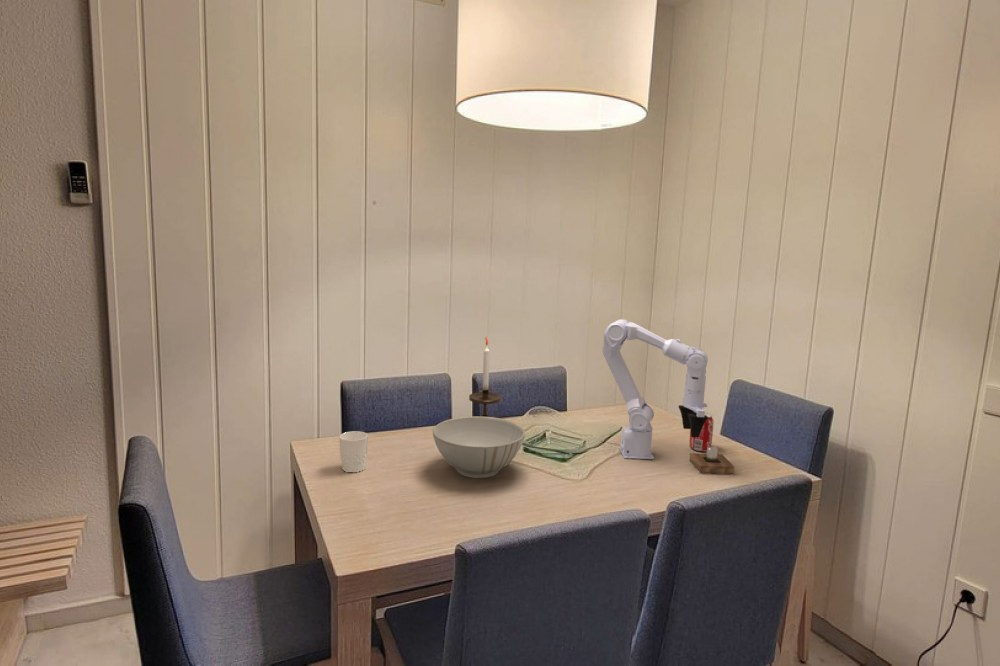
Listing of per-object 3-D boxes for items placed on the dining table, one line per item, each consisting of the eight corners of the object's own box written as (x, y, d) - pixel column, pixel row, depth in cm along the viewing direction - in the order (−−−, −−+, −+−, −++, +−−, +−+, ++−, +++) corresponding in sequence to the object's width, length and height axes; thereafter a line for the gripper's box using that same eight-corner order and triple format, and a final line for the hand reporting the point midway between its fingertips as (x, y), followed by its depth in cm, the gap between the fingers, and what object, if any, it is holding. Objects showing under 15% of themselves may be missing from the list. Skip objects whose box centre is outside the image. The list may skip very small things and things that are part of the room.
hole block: (700, 473, 174) (700, 465, 174) (689, 460, 184) (690, 453, 184) (733, 474, 174) (734, 466, 174) (721, 461, 184) (721, 454, 184)
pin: (708, 467, 177) (709, 449, 176) (703, 464, 180) (705, 445, 179) (717, 467, 178) (719, 449, 177) (713, 464, 181) (714, 445, 180)
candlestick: (464, 433, 203) (467, 333, 197) (494, 431, 206) (497, 333, 201) (472, 444, 193) (475, 339, 187) (504, 441, 196) (507, 338, 190)
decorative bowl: (514, 494, 156) (516, 451, 154) (419, 483, 162) (419, 441, 160) (530, 457, 182) (531, 420, 180) (447, 449, 188) (447, 412, 186)
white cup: (333, 470, 168) (333, 437, 167) (352, 461, 175) (352, 429, 173) (355, 476, 165) (354, 442, 163) (373, 467, 172) (373, 434, 170)
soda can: (708, 445, 198) (711, 411, 196) (713, 453, 191) (716, 418, 189) (686, 444, 199) (689, 410, 197) (691, 452, 192) (694, 416, 190)
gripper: (716, 396, 171) (712, 441, 173) (699, 384, 185) (696, 425, 188) (692, 396, 171) (688, 440, 173) (677, 383, 185) (674, 424, 188)
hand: (690, 432), depth 180 cm, fingers open, 7 cm apart
